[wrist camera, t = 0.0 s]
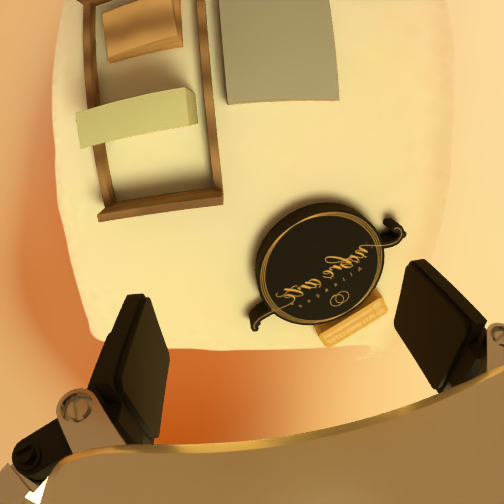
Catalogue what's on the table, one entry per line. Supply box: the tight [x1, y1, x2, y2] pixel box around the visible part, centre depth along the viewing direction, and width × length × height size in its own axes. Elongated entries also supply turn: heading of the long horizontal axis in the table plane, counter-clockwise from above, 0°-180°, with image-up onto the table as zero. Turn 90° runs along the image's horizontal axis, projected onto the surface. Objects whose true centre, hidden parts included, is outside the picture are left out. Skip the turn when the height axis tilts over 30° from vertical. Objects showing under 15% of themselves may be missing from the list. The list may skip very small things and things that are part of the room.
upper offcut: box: [102, 0, 180, 60], centre depth 26 cm, size 7×9×2 cm
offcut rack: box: [77, 0, 223, 222], centre depth 30 cm, size 32×16×5 cm, turn 5°
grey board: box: [219, 0, 339, 105], centre depth 30 cm, size 16×14×2 cm
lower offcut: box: [108, 0, 183, 63], centre depth 28 cm, size 8×10×2 cm
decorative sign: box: [249, 203, 406, 347], centre depth 46 cm, size 29×3×25 cm
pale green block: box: [76, 87, 198, 149], centre depth 29 cm, size 4×12×10 cm, turn 95°
